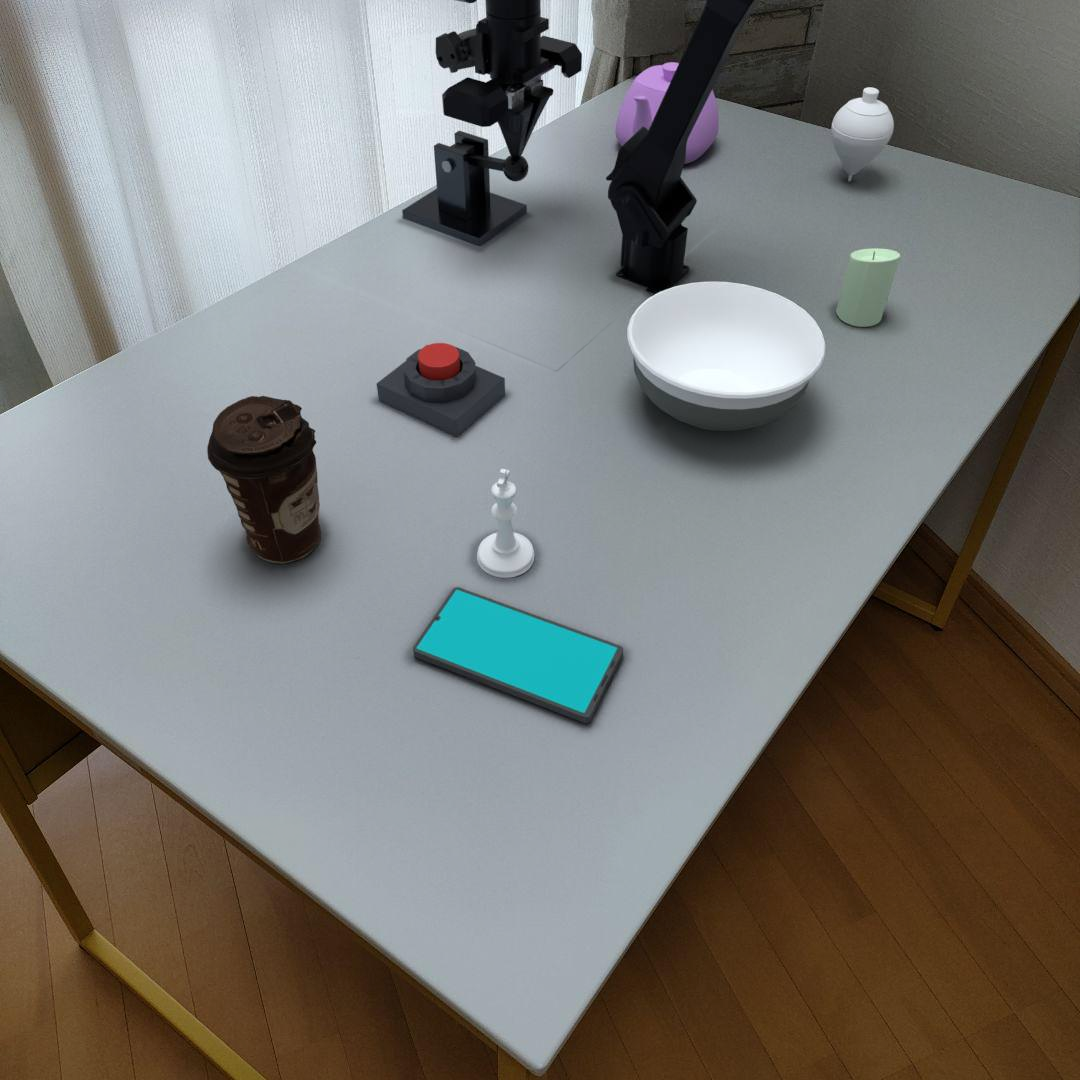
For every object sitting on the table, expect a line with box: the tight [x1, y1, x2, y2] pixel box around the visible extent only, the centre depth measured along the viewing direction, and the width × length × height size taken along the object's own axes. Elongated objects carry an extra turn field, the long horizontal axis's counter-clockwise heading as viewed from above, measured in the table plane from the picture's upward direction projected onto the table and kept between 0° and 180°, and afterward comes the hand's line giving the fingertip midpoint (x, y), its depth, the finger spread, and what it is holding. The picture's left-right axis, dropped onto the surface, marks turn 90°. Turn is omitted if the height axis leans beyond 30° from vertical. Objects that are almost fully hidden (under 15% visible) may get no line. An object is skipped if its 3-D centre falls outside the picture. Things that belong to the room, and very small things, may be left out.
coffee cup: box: [206, 395, 322, 564], centre depth 82 cm, size 9×8×13 cm
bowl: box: [626, 281, 826, 432], centre depth 97 cm, size 19×19×8 cm
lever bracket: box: [401, 130, 528, 248], centre depth 122 cm, size 12×10×10 cm
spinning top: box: [830, 86, 895, 182], centre depth 128 cm, size 8×8×12 cm
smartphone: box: [412, 587, 624, 724], centre depth 78 cm, size 7×1×15 cm
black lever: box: [449, 142, 529, 182], centre depth 118 cm, size 11×3×3 cm, turn 56°
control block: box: [376, 344, 506, 438], centre depth 99 cm, size 10×8×4 cm
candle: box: [835, 247, 901, 328], centre depth 108 cm, size 5×5×8 cm
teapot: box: [614, 61, 719, 165], centre depth 135 cm, size 13×20×11 cm
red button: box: [418, 342, 460, 380], centre depth 97 cm, size 4×4×2 cm
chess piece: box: [476, 468, 535, 579], centre depth 82 cm, size 5×5×10 cm
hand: (516, 155), depth 115 cm, fingers closed
